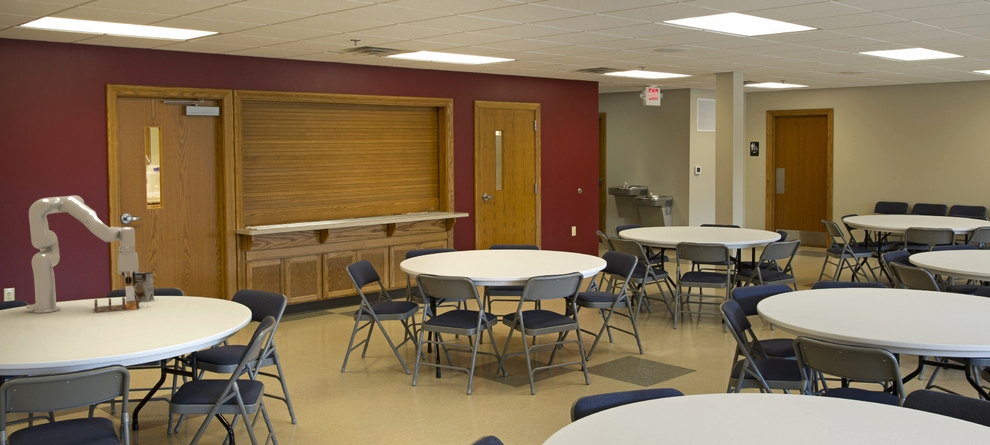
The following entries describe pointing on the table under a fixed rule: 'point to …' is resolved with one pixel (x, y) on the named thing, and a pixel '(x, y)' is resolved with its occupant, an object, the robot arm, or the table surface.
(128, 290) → the panel
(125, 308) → the rack
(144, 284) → the coffee box
